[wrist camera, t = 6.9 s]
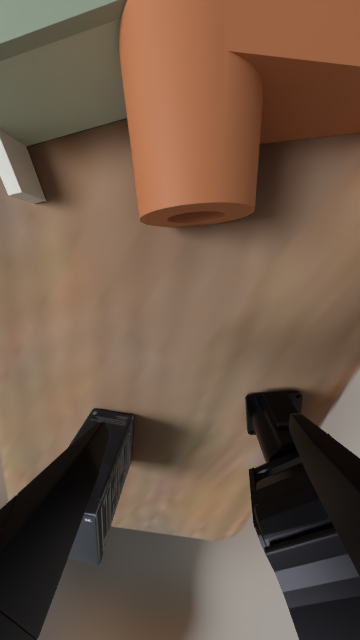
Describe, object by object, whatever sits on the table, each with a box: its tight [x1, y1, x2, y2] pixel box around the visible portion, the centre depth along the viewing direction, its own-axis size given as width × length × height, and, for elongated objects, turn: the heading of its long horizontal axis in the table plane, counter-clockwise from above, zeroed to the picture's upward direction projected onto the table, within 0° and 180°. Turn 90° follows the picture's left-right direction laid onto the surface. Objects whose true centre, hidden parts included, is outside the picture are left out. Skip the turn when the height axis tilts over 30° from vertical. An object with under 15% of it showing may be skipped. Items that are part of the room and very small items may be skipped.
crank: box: [118, 0, 360, 227], centre depth 11 cm, size 20×8×8 cm, turn 94°
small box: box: [68, 409, 134, 565], centre depth 22 cm, size 11×6×10 cm, turn 172°
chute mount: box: [0, 0, 127, 204], centre depth 10 cm, size 7×32×7 cm, turn 100°
